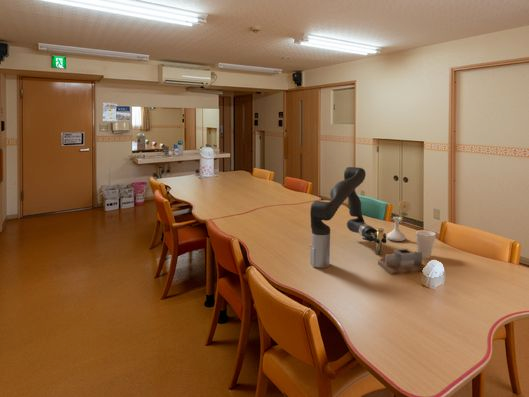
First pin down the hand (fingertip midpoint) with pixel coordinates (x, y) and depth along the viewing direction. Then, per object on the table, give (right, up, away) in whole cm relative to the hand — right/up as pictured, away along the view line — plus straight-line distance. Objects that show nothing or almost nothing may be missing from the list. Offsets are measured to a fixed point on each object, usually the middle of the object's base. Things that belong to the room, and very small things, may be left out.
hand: (382, 241), depth 189 cm
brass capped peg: (0, -7, +4) cm, 9 cm away
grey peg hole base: (+8, -12, -7) cm, 16 cm away
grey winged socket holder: (+8, -11, -8) cm, 15 cm away
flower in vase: (+20, -3, +34) cm, 40 cm away
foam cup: (+25, -9, +7) cm, 27 cm away
